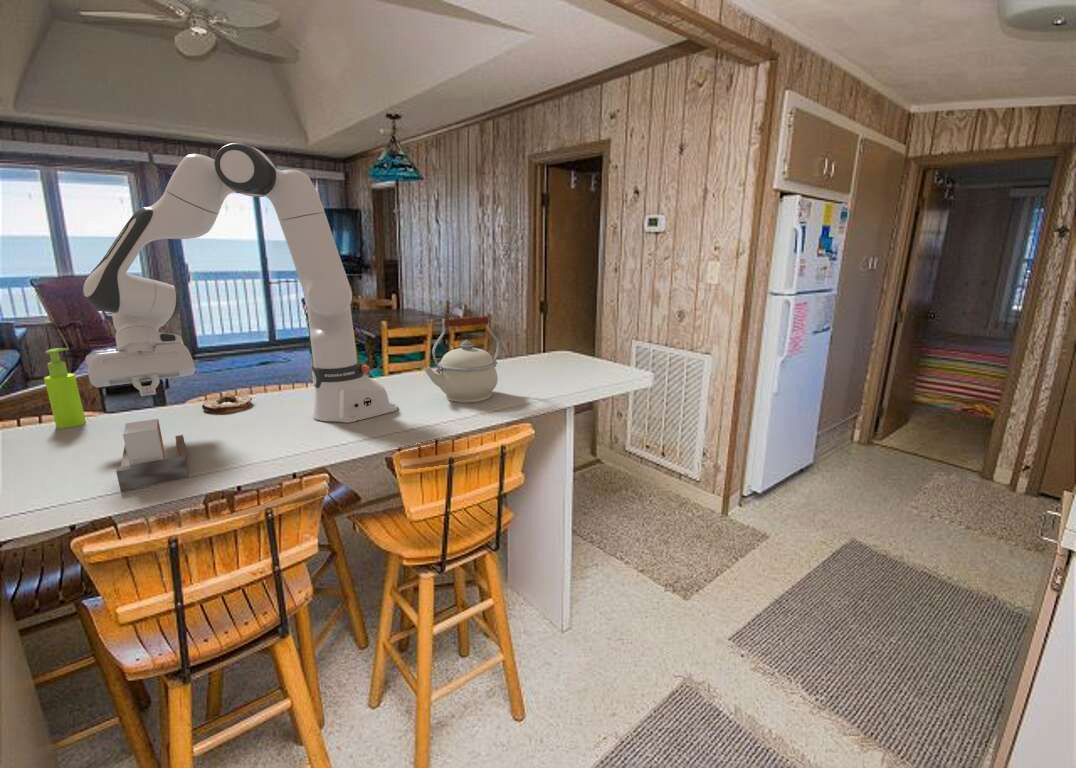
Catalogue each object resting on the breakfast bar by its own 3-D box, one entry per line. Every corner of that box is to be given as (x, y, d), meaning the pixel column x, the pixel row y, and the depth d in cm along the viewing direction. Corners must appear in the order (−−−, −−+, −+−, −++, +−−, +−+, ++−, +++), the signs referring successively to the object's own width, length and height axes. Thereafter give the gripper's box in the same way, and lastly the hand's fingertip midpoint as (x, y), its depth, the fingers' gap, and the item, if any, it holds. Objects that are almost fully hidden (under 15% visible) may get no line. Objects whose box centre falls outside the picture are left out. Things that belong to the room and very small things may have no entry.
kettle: (486, 385, 175) (484, 311, 168) (513, 398, 160) (512, 318, 153) (415, 396, 162) (410, 316, 155) (437, 411, 147) (432, 324, 140)
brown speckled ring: (187, 411, 147) (184, 397, 146) (238, 398, 160) (236, 385, 159) (217, 420, 140) (214, 405, 139) (268, 405, 153) (266, 392, 152)
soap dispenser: (93, 418, 140) (76, 346, 135) (76, 427, 133) (57, 351, 128) (69, 420, 139) (51, 346, 134) (50, 428, 132) (30, 352, 127)
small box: (167, 477, 105) (158, 428, 102) (133, 484, 102) (122, 434, 99) (167, 464, 111) (158, 417, 108) (135, 470, 108) (125, 422, 105)
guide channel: (184, 442, 123) (181, 426, 122) (189, 476, 105) (185, 458, 104) (126, 452, 117) (122, 436, 116) (120, 490, 99) (116, 471, 98)
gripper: (81, 344, 118) (87, 394, 113) (187, 334, 129) (197, 379, 124) (87, 360, 123) (94, 409, 118) (190, 349, 134) (199, 393, 129)
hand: (148, 394), depth 121 cm, fingers closed
